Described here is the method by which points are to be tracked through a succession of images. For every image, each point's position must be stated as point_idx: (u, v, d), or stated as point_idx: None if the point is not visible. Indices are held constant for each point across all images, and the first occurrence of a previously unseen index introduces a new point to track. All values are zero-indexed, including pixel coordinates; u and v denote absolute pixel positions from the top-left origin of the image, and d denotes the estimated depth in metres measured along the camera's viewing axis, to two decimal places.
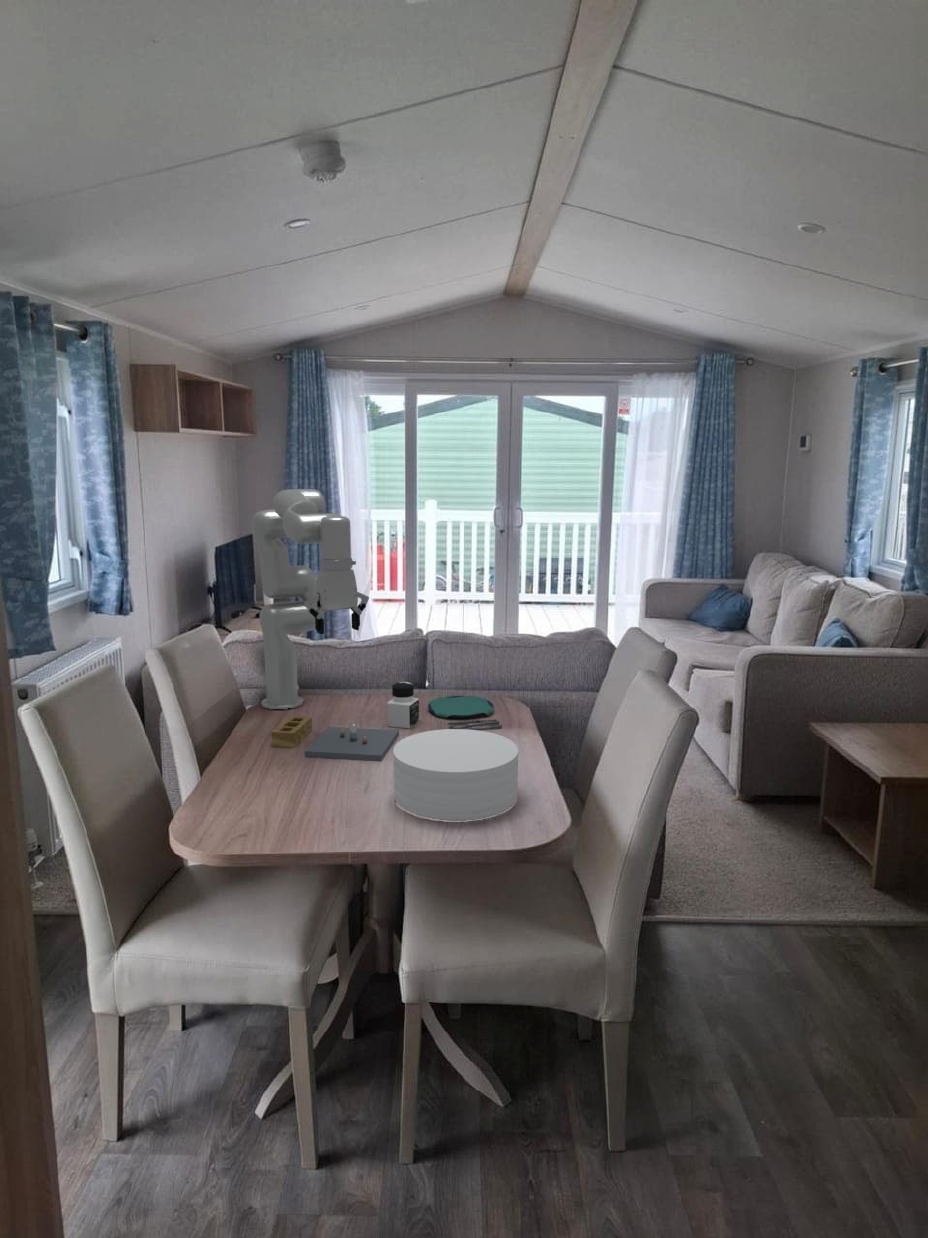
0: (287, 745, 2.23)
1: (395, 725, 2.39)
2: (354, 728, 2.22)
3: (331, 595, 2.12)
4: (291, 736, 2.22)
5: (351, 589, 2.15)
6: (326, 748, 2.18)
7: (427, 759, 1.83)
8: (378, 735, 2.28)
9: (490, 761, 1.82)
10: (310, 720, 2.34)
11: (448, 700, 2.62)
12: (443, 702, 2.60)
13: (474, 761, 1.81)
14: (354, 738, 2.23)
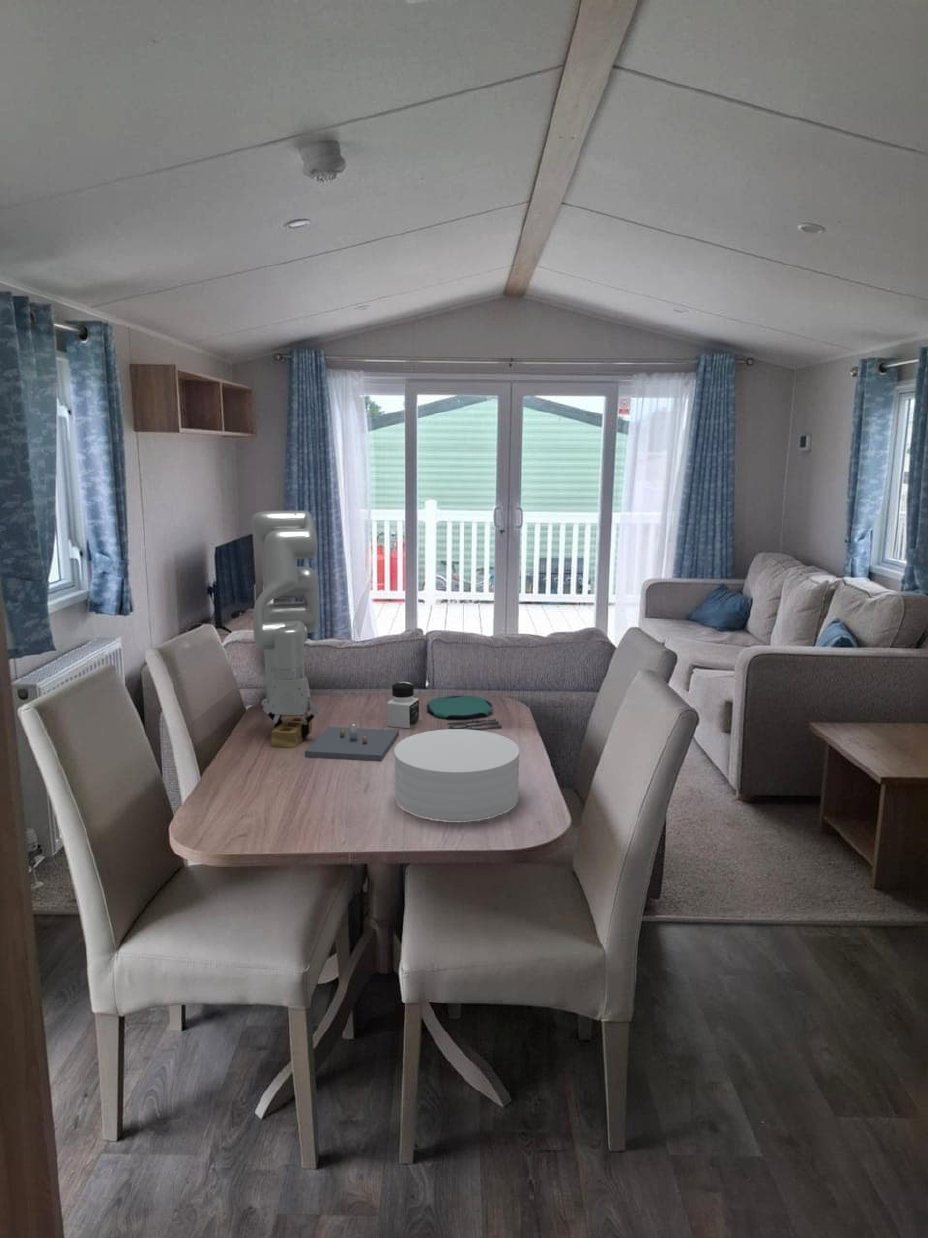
0: (287, 745, 2.23)
1: (395, 725, 2.39)
2: (354, 728, 2.22)
3: None
4: (291, 736, 2.22)
5: None
6: (326, 748, 2.18)
7: (428, 759, 1.83)
8: (378, 735, 2.28)
9: (491, 761, 1.82)
10: None
11: (447, 700, 2.62)
12: (442, 702, 2.60)
13: (476, 762, 1.81)
14: (354, 738, 2.23)
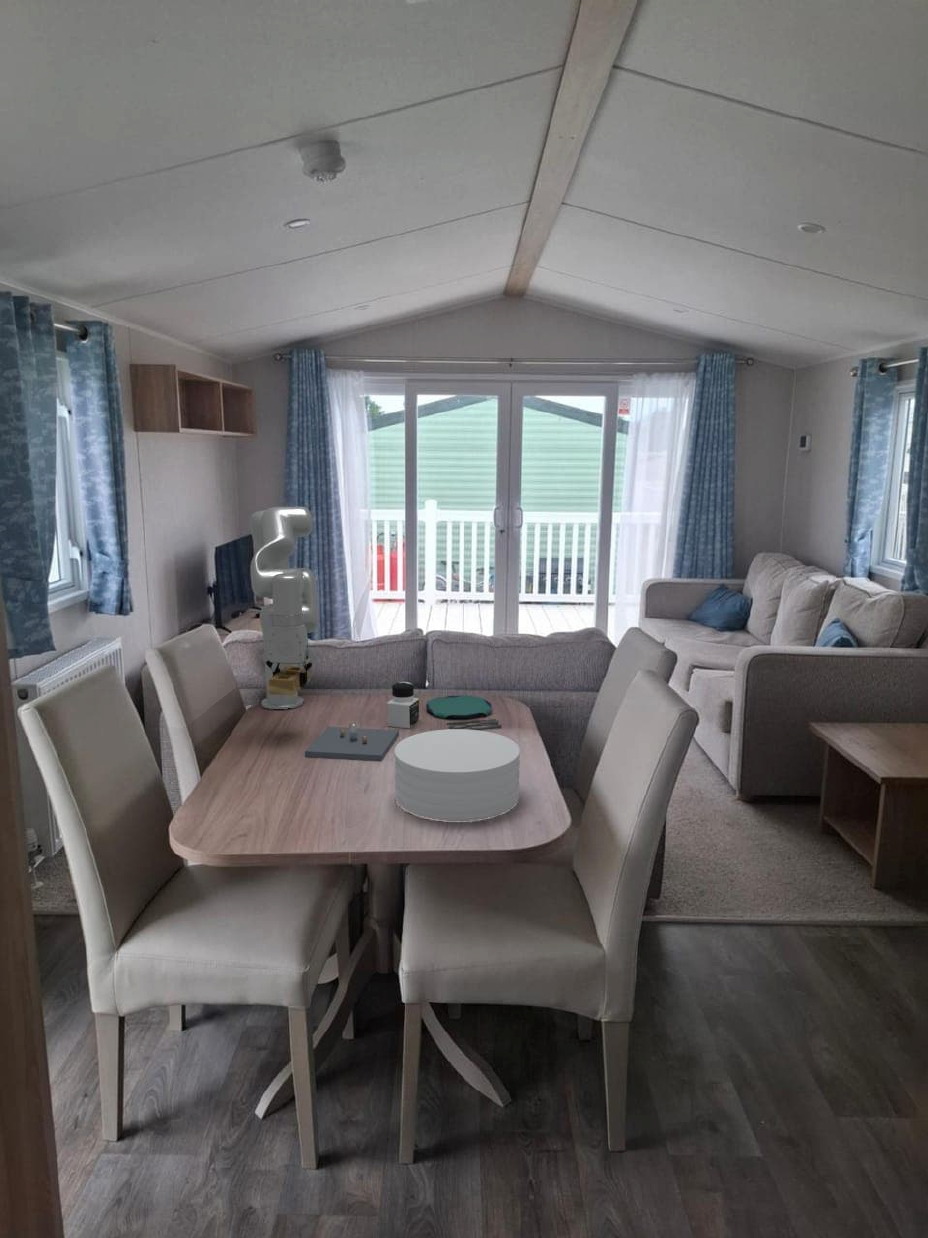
0: (285, 693, 2.20)
1: (395, 725, 2.39)
2: (354, 728, 2.22)
3: None
4: (289, 683, 2.20)
5: None
6: (326, 748, 2.18)
7: (428, 759, 1.83)
8: (378, 735, 2.28)
9: (491, 761, 1.82)
10: None
11: (446, 700, 2.62)
12: (441, 702, 2.60)
13: (476, 762, 1.81)
14: (354, 738, 2.23)
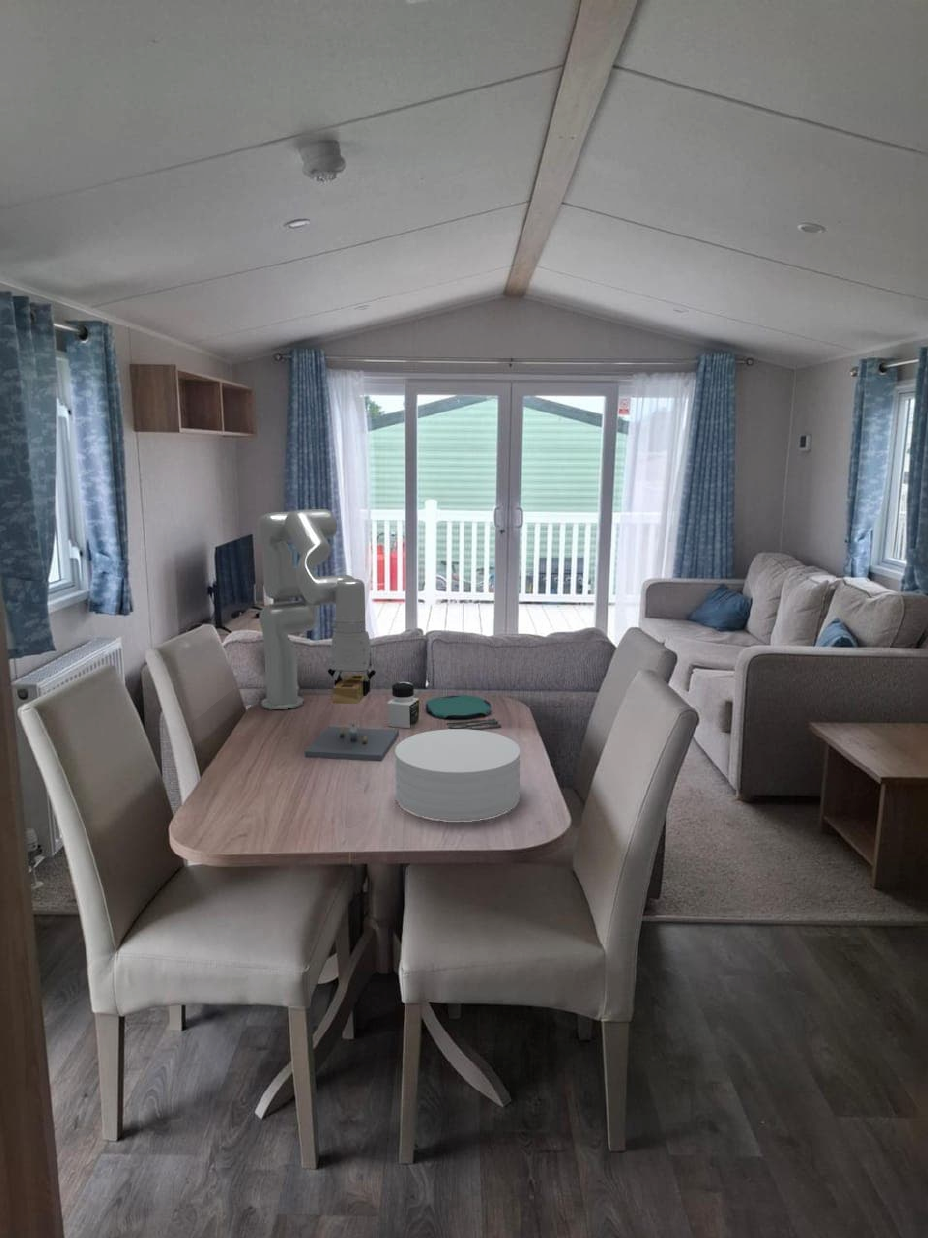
0: (349, 701, 2.14)
1: (395, 725, 2.39)
2: (354, 728, 2.22)
3: None
4: (353, 692, 2.14)
5: None
6: (326, 748, 2.18)
7: (429, 759, 1.83)
8: (378, 735, 2.28)
9: (492, 761, 1.82)
10: None
11: (445, 700, 2.62)
12: (441, 702, 2.60)
13: (477, 762, 1.81)
14: (354, 738, 2.23)
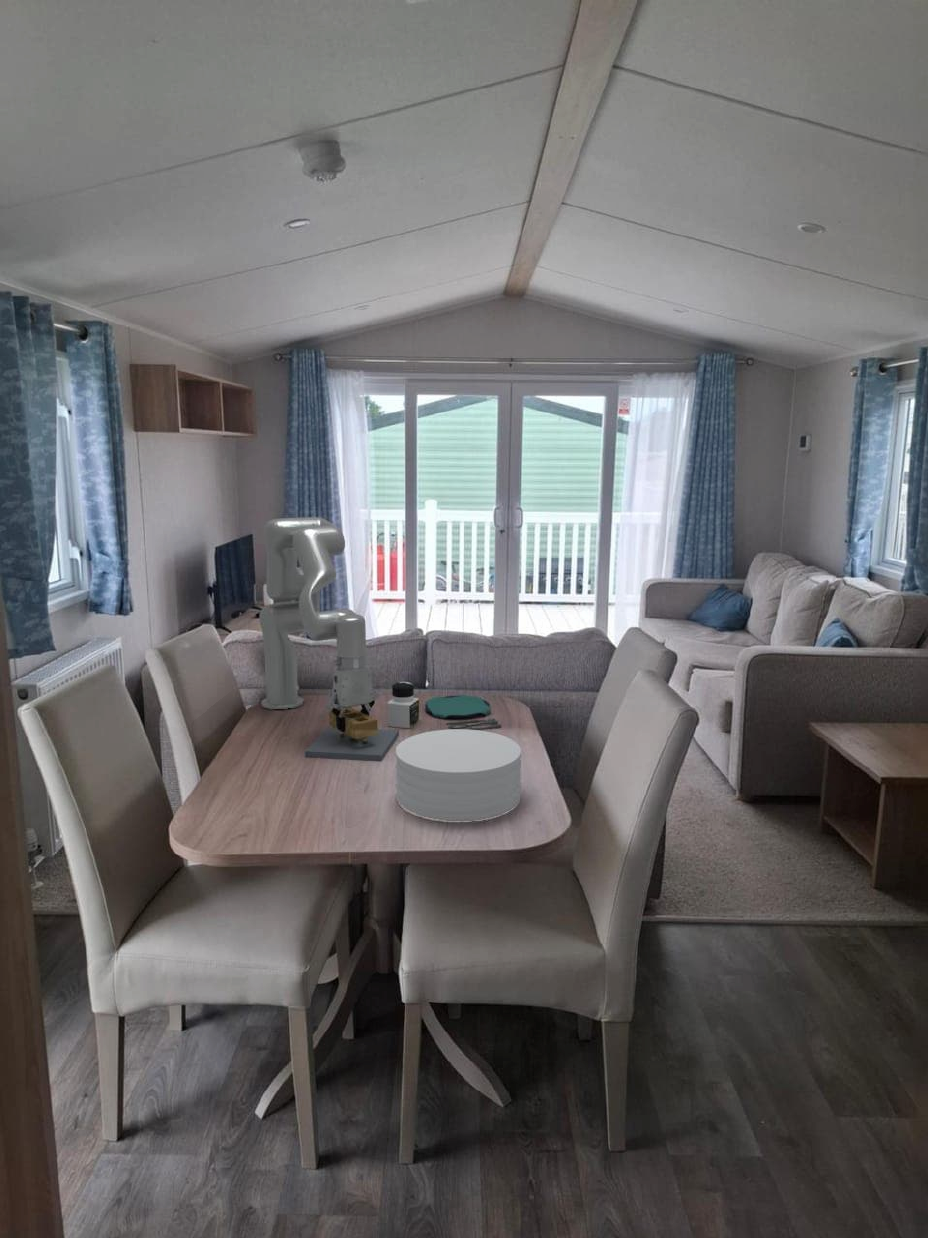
0: (370, 734, 2.19)
1: (395, 725, 2.39)
2: None
3: None
4: (374, 723, 2.19)
5: None
6: (326, 748, 2.18)
7: (430, 759, 1.83)
8: (378, 735, 2.28)
9: (493, 761, 1.82)
10: None
11: (444, 700, 2.62)
12: (440, 702, 2.60)
13: (477, 762, 1.81)
14: None
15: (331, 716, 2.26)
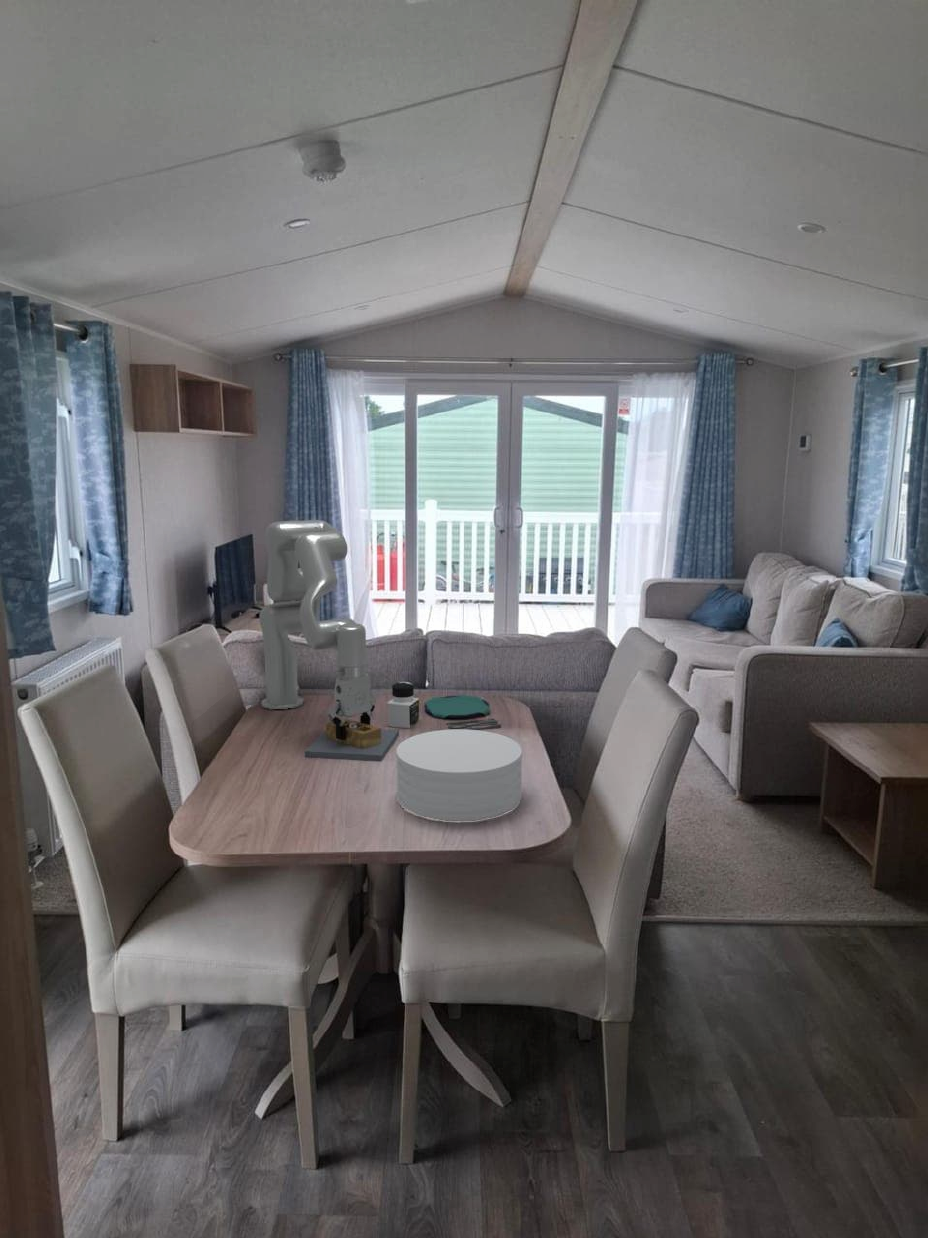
0: (375, 742, 2.21)
1: (395, 725, 2.39)
2: None
3: None
4: (378, 732, 2.21)
5: None
6: (326, 748, 2.18)
7: (430, 759, 1.83)
8: None
9: (493, 761, 1.82)
10: None
11: (443, 700, 2.62)
12: (439, 702, 2.60)
13: (478, 762, 1.81)
14: None
15: (329, 728, 2.25)
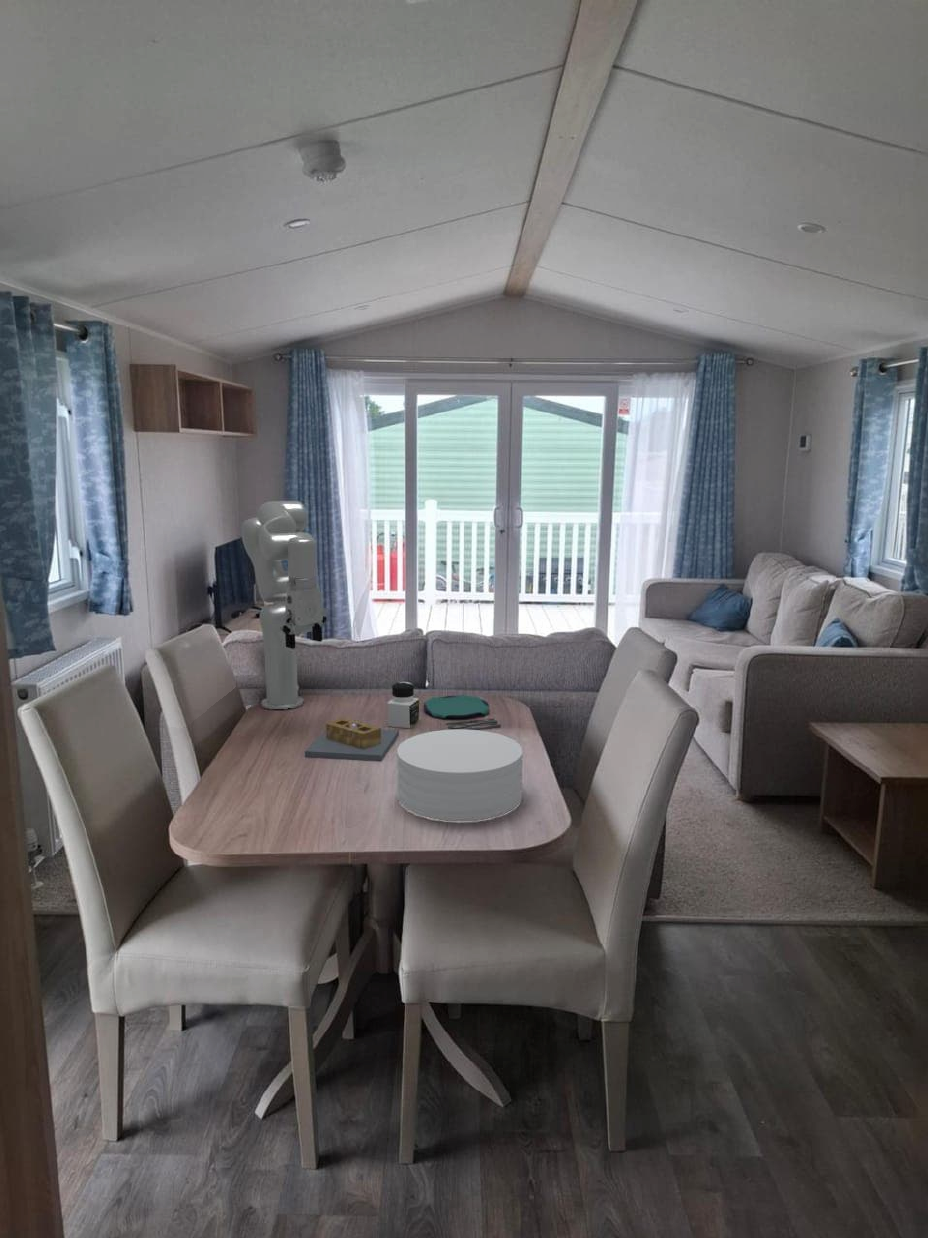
0: (375, 742, 2.21)
1: (395, 725, 2.39)
2: None
3: None
4: (378, 732, 2.21)
5: None
6: (326, 748, 2.18)
7: (431, 759, 1.83)
8: None
9: (494, 761, 1.82)
10: None
11: (442, 700, 2.62)
12: (438, 702, 2.60)
13: (479, 762, 1.81)
14: None
15: (329, 728, 2.25)
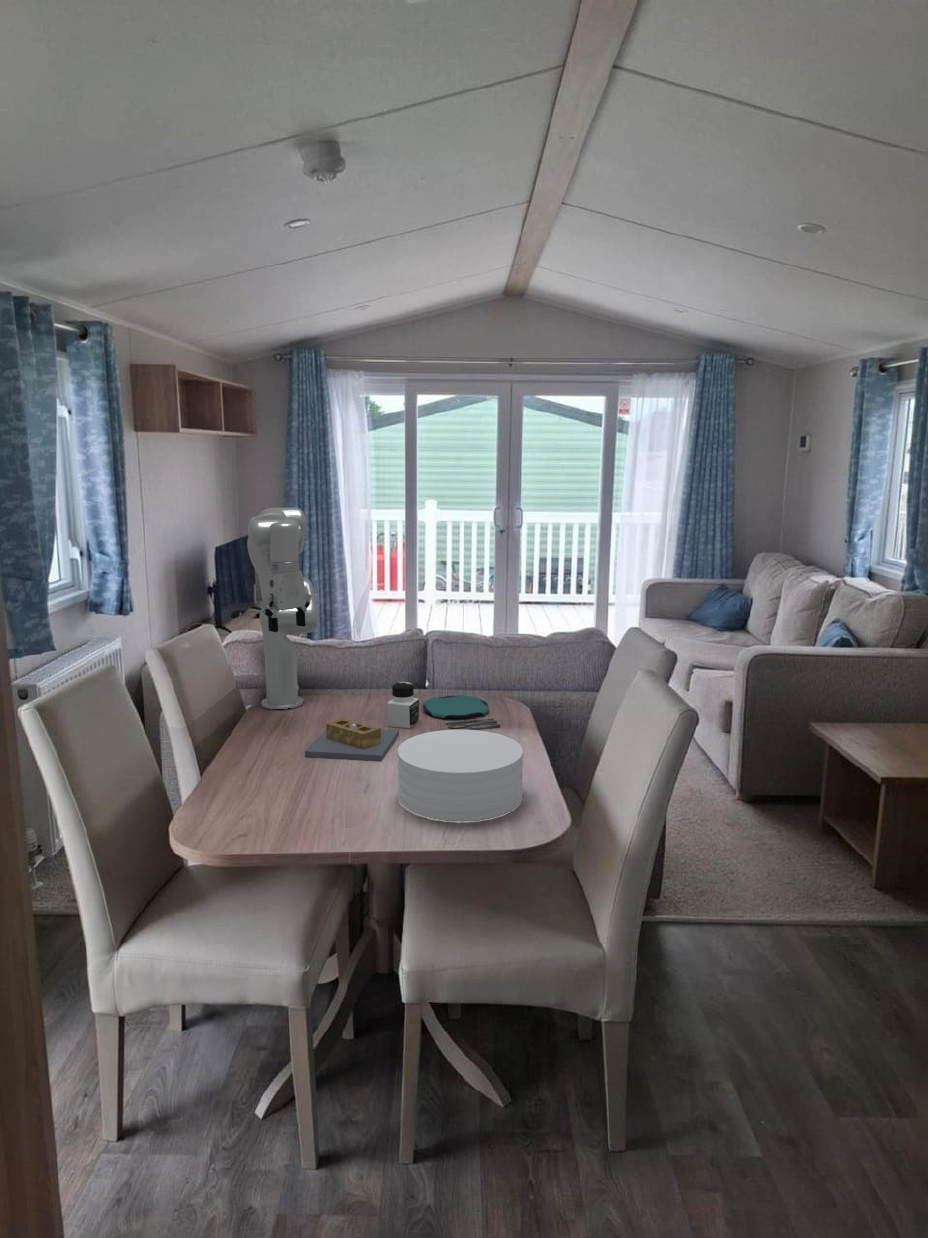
0: (375, 742, 2.21)
1: (395, 725, 2.39)
2: None
3: None
4: (378, 732, 2.21)
5: None
6: (326, 748, 2.18)
7: (432, 760, 1.82)
8: None
9: (495, 761, 1.82)
10: None
11: (442, 700, 2.62)
12: (437, 702, 2.60)
13: (479, 762, 1.81)
14: None
15: (329, 728, 2.25)
